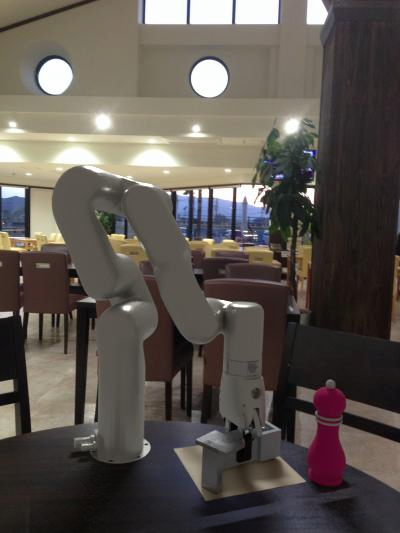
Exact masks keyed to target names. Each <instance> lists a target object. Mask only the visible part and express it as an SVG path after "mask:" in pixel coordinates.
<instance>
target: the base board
mask: <svg viewBox="0 0 400 533" xmlns="http://www.w3.org/2000/svg"><path fill="white" fill-rule="evenodd" d="M173 450H174V452H175V454H176V455H177V457H178V458H179V460H180V462H181V464H182V465H183V466H184V468H185V470H186V471H187V473H188V475H189V476H190V478H191V479H192V481H193V482H194V484H195V486H196V488H197V489H198V491H199V492H200V494H201V495H202V497H203V499H204V501H206V502H208V501H212V500H218V499H223V498H228V497H233V496H238V495H244V494H251V493H256V492H261V491H265V490H272V489H277V488H282V487H287V486H292V485H298V484H302V483H303V484H304V483H307V481H306V480H305V478H303V477H302V476H301V475H300V474H299V473H298V472H297V471H296V470H294V468H292V467H291V465H290V464H289V463H287V462H286V461H285V460H284V459H283V458H282V457H281V455H280V456H279V457H275V458H272V459H269V460H265V461H262V462H260V461H259V460H254V461H251V462H247V463H244V464H240V465H237V466H233V467H230V468H226V469H223V472H222V492H220V493H219V494H217V495H215V494H213V493H211V492H210V491H208V490H206V489H204V488H202V487H201V481H202V453H203V447H202V446H199V445H197V444H196V445H191V446H190V445H189V446H185V447H175V448H173Z"/></svg>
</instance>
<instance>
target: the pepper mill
mask: <svg viewBox="0 0 400 533" xmlns="http://www.w3.org/2000/svg"><path fill="white" fill-rule="evenodd" d="M312 402H313V403H312V404H313V406H314V408H315V409H316V411H315V412H314V415H315V416H314V420H315V422H316V424H317V425H316V426H317V427H316V433H315V436H314V437H313V440H312V441H311V444H310V445H309V447H308V450H307V453H306V463H307V465H308V467H309V469H308V473H307V475H308V478H309V479H310V480H312V481H313V482H314V483H316V484H319V485H321V486H324V487H325V486H326V487H327V486H328V487H336V486H339V485H341V484H342V483H343V479H344V478H343V475H342V473H344V472H345V470H346V468H347V458H346V453H345V452H344V451H345V450H344V447H343V445H342V444H341V439H340V425H342V424H343V412H344V411H345V410H346V408H347V399H346V395H345V394H344V393H343V392H342V391H341V390H340V389H338V388H336V382H335V380H332V379H327V381H326V382H325V386H322V387H320V388H318V389H317V390H316V391H315V392H314V395H313V399H312ZM339 490H340V488H339V489H334V490H330V491H328V492H329V493H330V492H331V493H332V492H338V491H339Z"/></svg>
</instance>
